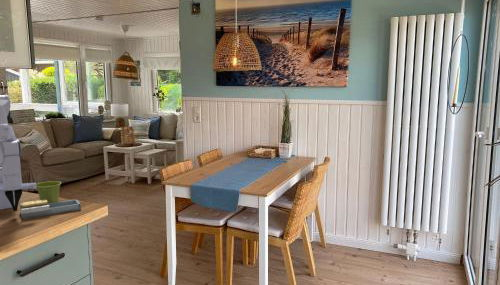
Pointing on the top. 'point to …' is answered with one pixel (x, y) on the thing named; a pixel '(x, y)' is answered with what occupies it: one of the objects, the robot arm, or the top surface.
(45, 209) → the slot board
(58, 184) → the plant pot
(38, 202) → the brass chip
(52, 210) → the tray
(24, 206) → the brass chip
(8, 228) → the top surface
